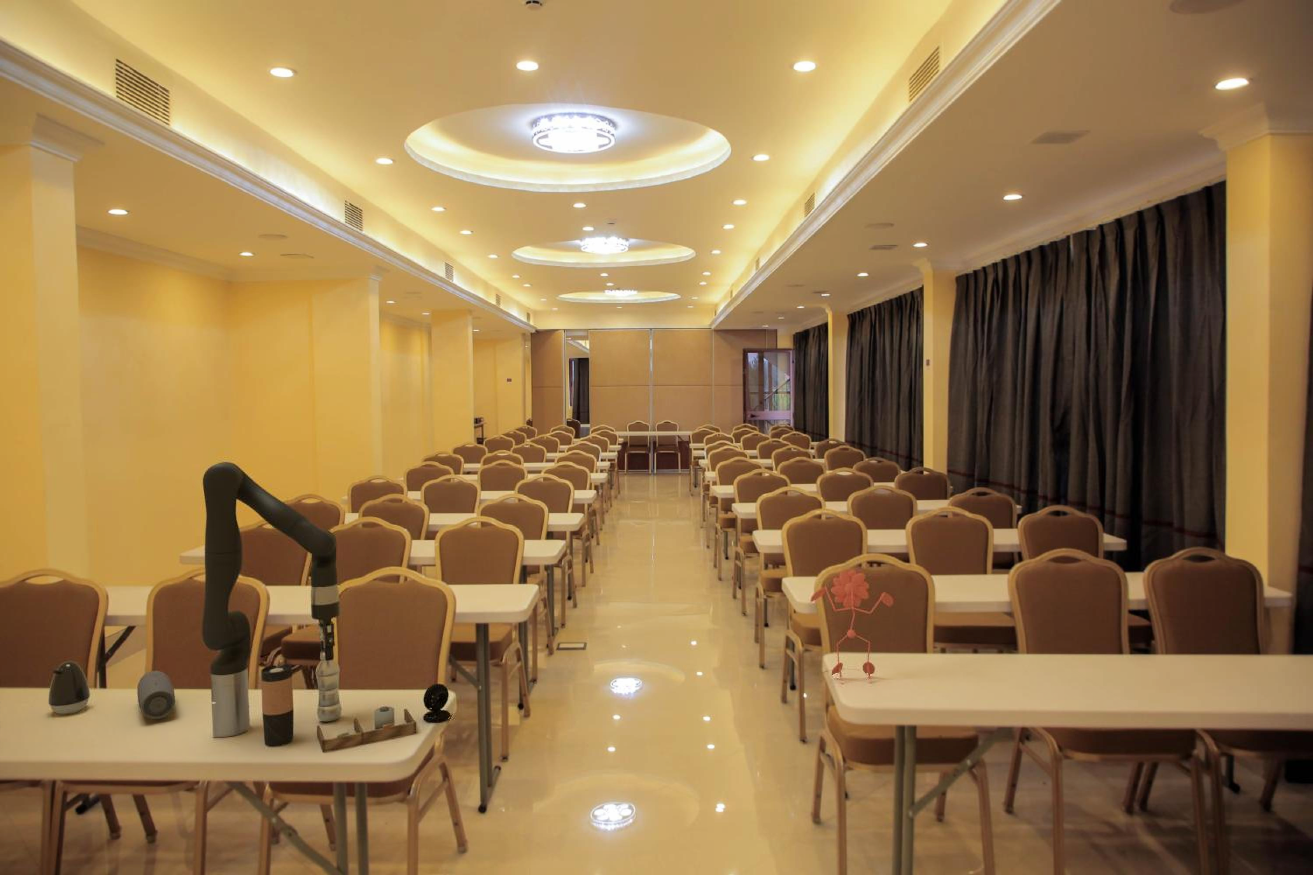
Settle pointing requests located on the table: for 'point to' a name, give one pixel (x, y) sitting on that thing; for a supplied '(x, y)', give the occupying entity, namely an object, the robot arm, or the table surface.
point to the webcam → (436, 703)
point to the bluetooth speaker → (155, 695)
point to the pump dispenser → (68, 689)
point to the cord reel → (383, 716)
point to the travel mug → (277, 705)
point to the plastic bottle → (328, 689)
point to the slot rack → (367, 734)
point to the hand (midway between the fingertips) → (327, 656)
